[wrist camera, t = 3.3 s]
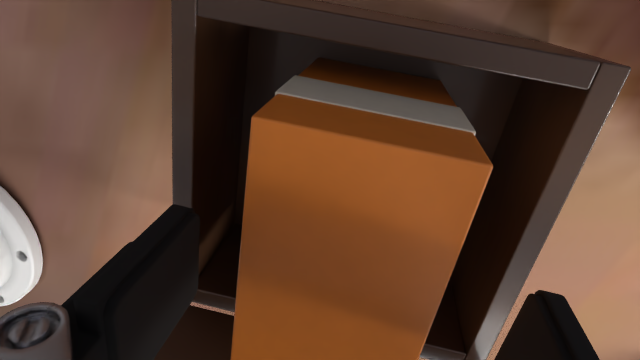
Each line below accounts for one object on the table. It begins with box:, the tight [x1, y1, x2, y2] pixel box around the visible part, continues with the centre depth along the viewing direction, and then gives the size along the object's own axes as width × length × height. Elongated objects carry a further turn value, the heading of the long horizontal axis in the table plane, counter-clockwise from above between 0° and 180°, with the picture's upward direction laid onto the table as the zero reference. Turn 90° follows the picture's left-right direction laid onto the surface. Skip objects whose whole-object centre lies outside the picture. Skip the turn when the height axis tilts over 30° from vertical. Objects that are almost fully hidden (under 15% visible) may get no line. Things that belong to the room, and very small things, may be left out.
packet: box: [231, 57, 493, 360], centre depth 16 cm, size 9×6×10 cm
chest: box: [172, 0, 631, 360], centre depth 19 cm, size 14×15×7 cm
